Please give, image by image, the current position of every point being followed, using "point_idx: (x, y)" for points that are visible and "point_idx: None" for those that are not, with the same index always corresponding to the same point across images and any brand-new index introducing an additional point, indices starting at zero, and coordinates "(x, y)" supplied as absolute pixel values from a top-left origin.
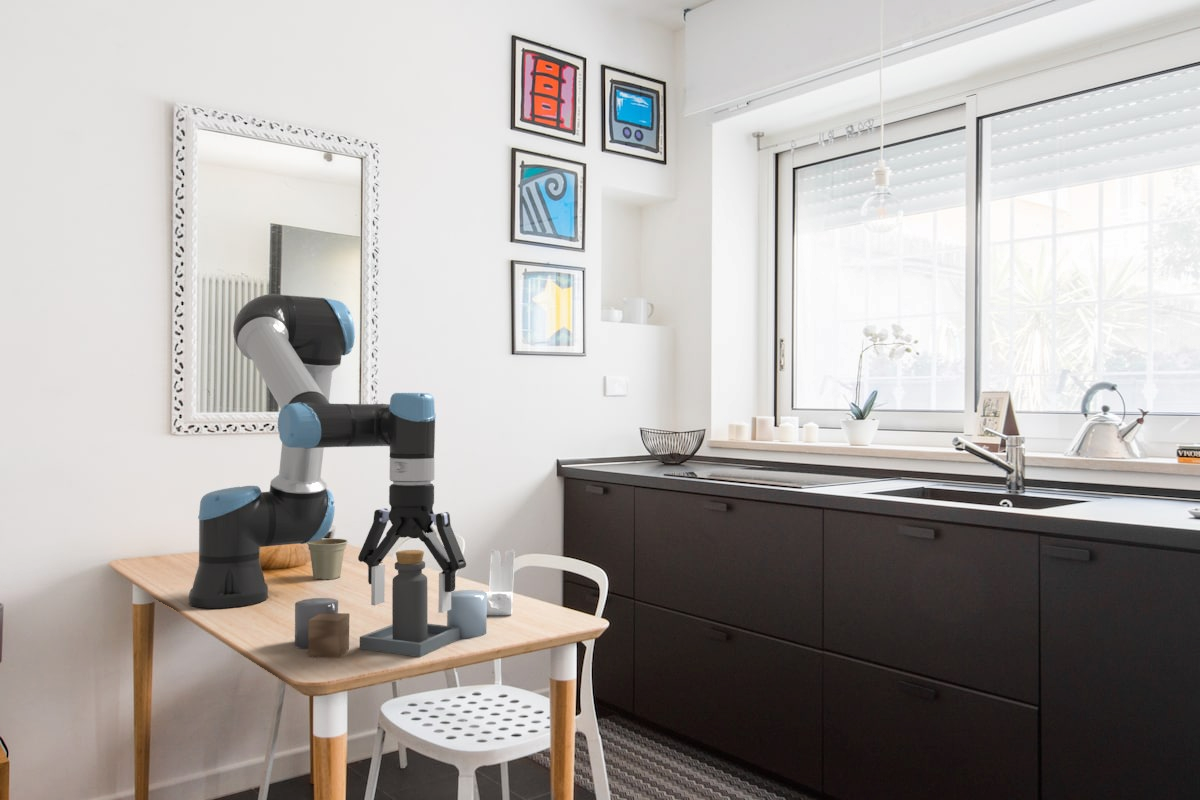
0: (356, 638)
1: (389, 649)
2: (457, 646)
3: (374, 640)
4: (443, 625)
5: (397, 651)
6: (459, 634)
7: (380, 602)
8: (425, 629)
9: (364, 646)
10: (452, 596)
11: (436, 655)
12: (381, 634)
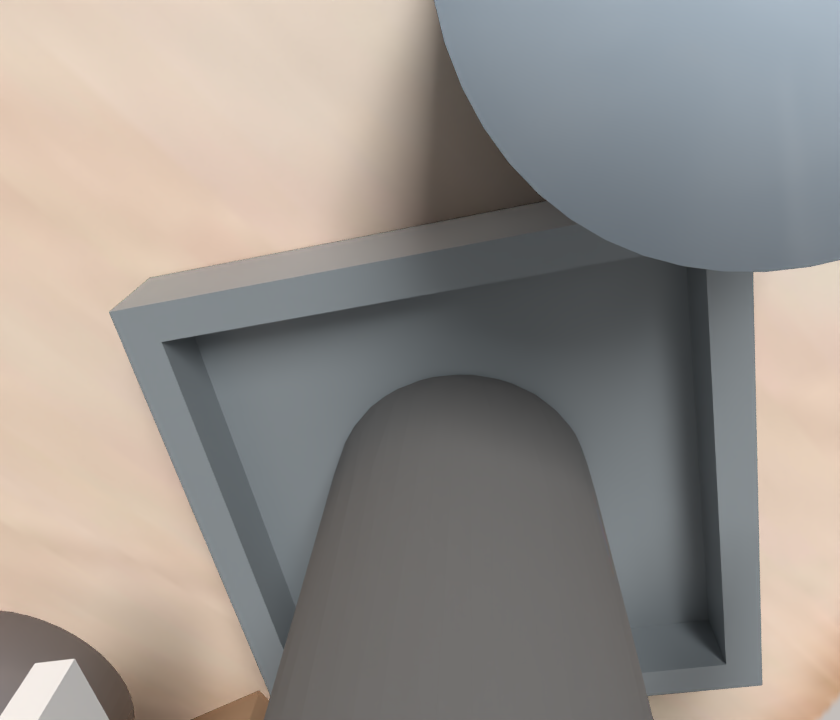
0: (77, 544)
1: None
2: (826, 342)
3: None
4: (557, 230)
5: None
6: None
7: (96, 711)
8: (598, 505)
9: None
10: (688, 230)
11: (809, 558)
12: (266, 565)
